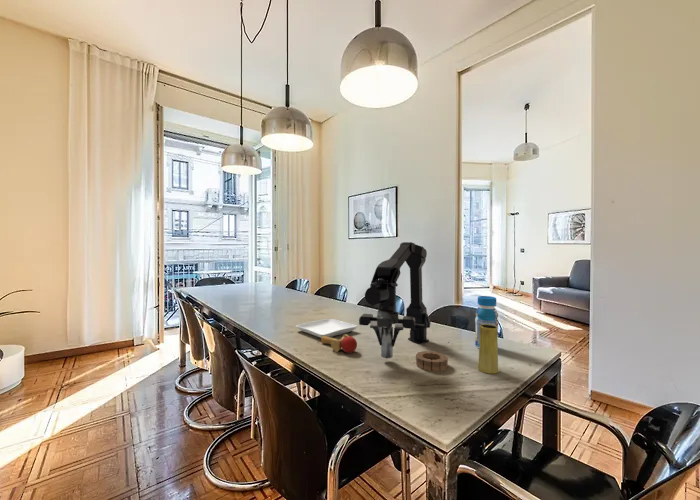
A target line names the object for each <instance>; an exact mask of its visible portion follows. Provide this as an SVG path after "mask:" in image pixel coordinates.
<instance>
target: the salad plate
mask: <svg viewBox="0 0 700 500" xmlns="http://www.w3.org/2000/svg"><path fill="white" fill-rule="evenodd" d="M358 326H359V325H357V324H353V323H350V322H347V321H346V322H345V321H341V320H338V319H335V318H334V319H333V318H331V317H330V318H325V319H319V320H313V321H309V322H304V323H299V324H297V325H295V327H296V329H298V330H299V331H301V332H304V333H306V334H309V335H312V336H315V337H317V338H320V339H321V338H322V336H327V337H331V338H334V337H335V336H339V335H340V336H341V335H345V334H348V333H349V332H352V331H354V330H357V329H356V328H358Z"/></svg>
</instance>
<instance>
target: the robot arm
mask: <svg viewBox="0 0 700 500" xmlns="http://www.w3.org/2000/svg"><path fill="white" fill-rule="evenodd" d="M427 255H428V253H427V249H426V248H425V246H421V245H418V244H416V243H415V242H412V241H411V242H408V241H407V242H404V241H403V242H401V243H399V246H398V248H397V249H396V251H394V253H393V254H392V255H391V257H390V258H389V259H386V260H384V261H382V262H380V263H379V264H378V265H377V266H376V268H375V270H374V274H373V276H372V279H371V282H370V287H368V288H367V289H366V291H365V293H364V298H365V301H366V302H367V304H368V305H371V306H376V305H378V309H377V314H376V316H373V315H374V314H372V313H362V314H361V315H360V317H359V318H358V324H359V325H360V326H369V329H373V330H374V333H375V334H376V338H377V340H378V344H379V346H380V347H381V327H387V328H391V327H393V325H394V327H393V348H394V346H395V344H396V341H397V339H398V338H397V337H398V335H399V334H400V332H401V331H403V330H405V329H409V337H408V338H407V339H408V340H409V341H411V342H414V343H416V344H421V343H426V342H430V339H428V338H427V329H430V328H431V323H432V321H431V319H430V315H428V310H427V307H426V305H425V304H424V302H423V272H422V271H423V270H422V269H423V266H424V265H425V263H426V260H427ZM404 263H406V265H407V266H408V268H409V286H410V287H409V288H410V303H409V305H408V306H407V308H406V309H405V311H406V312H405V315H404V316H403V317H402V318H399V312H398V311H397V307H396V306H397V305H396V302H397V301H396V300H397V298H396V297H397V291H396V290H397V287H399V285H398V283H397V281H398V280H399V278H400V275H401V267H402V266H403V265H404ZM359 325H358V326H359Z"/></svg>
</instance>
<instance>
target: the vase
mask: <svg viewBox="0 0 700 500" xmlns="http://www.w3.org/2000/svg"><path fill="white" fill-rule="evenodd" d="M498 331H499V326H498V327H497V326H494V325H490V324H482V325H480V340H479V348H478V363H477V369H478V371H480V372H481V373H485V374H489V375H490V374H491V375H495V374H498V373H499V372H500V371H499V370H500V369H499V360H498V359H499V355H498V354H499V353H498V348H499V344H498V345H497V342H498V339H499V337H498V333H499V332H498Z"/></svg>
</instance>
